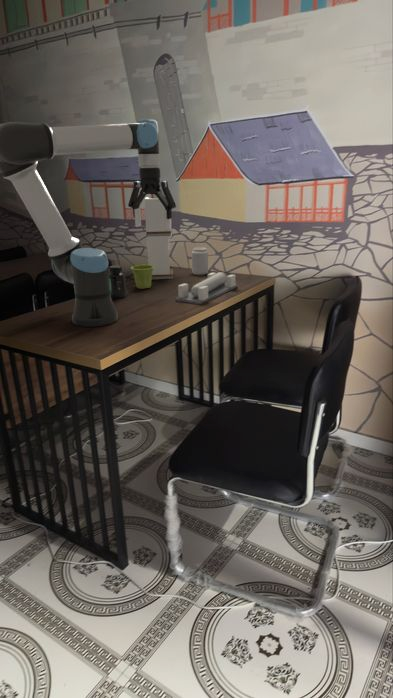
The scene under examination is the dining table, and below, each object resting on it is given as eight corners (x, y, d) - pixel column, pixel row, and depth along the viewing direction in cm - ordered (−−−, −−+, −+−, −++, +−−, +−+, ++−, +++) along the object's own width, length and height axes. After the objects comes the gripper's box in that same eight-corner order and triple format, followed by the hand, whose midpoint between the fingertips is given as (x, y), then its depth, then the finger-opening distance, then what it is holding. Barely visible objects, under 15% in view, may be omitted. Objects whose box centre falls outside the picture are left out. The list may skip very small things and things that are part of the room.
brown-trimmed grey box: (172, 278, 224) (169, 198, 211) (149, 279, 224) (144, 198, 211) (173, 273, 235) (170, 196, 222) (150, 274, 235) (146, 197, 222)
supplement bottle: (109, 299, 193) (106, 268, 189) (108, 294, 199) (106, 265, 195) (126, 297, 194) (124, 267, 190) (125, 293, 201) (123, 264, 196)
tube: (202, 289, 184) (228, 274, 205) (190, 283, 186) (217, 269, 206) (198, 301, 187) (225, 286, 207) (186, 296, 188) (214, 281, 209)
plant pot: (151, 290, 205) (150, 269, 202) (129, 289, 207) (128, 269, 204) (157, 284, 214) (156, 264, 211) (136, 284, 215) (135, 264, 212)
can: (192, 272, 236) (192, 247, 232) (208, 272, 236) (208, 246, 231) (191, 275, 229) (191, 249, 225) (208, 275, 229) (207, 249, 224)
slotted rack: (175, 300, 189) (175, 286, 187) (214, 284, 212) (214, 271, 210) (200, 304, 183) (199, 289, 181) (237, 287, 207) (237, 273, 205)
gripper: (184, 166, 175) (186, 227, 183) (129, 167, 187) (132, 224, 195) (172, 166, 169) (174, 230, 177) (116, 167, 182) (120, 226, 189)
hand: (152, 227), depth 186 cm, fingers open, 13 cm apart
